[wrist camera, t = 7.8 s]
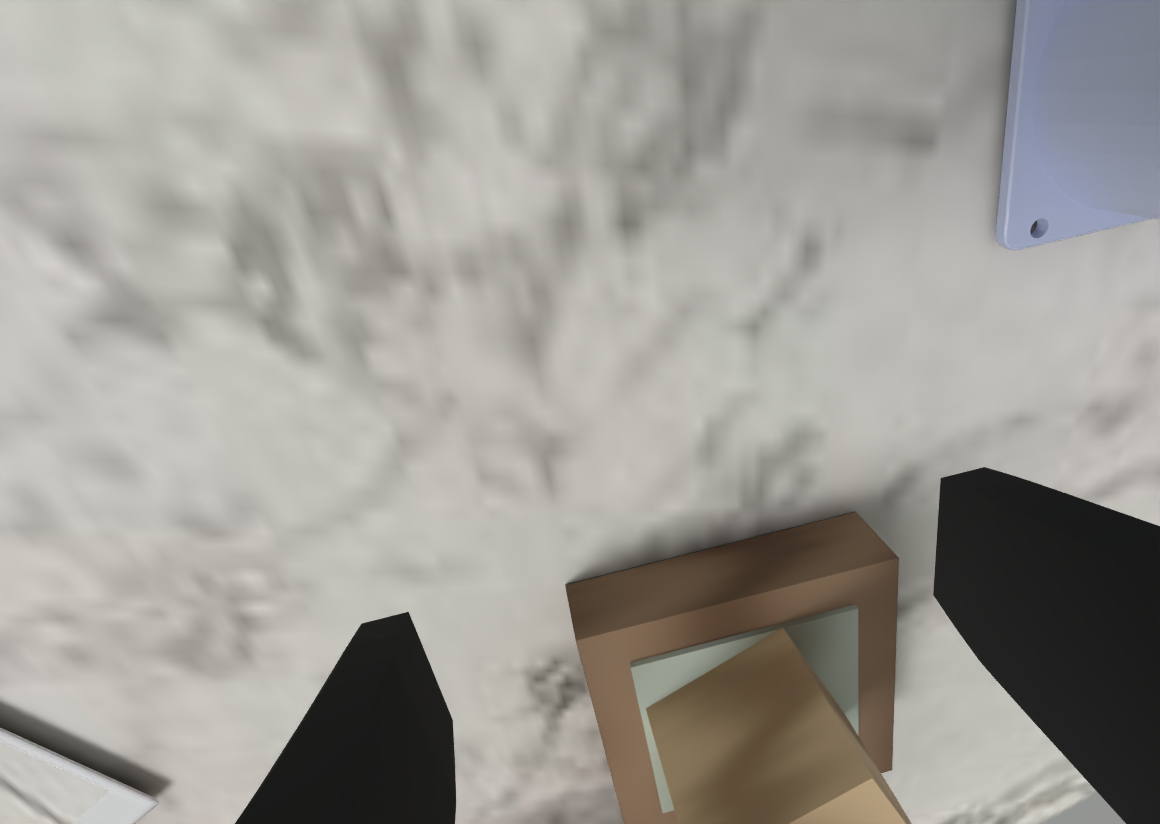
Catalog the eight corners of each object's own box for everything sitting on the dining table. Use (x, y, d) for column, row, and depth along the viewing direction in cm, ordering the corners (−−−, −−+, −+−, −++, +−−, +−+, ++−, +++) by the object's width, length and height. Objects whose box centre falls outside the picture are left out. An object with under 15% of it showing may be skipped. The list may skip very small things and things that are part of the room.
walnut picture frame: (855, 511, 22) (902, 562, 20) (856, 713, 26) (895, 775, 24) (565, 585, 22) (576, 645, 19) (615, 778, 26) (630, 847, 24)
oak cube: (783, 627, 20) (872, 777, 16) (844, 714, 22) (938, 868, 18) (645, 708, 21) (693, 876, 16) (718, 785, 23) (778, 951, 18)
